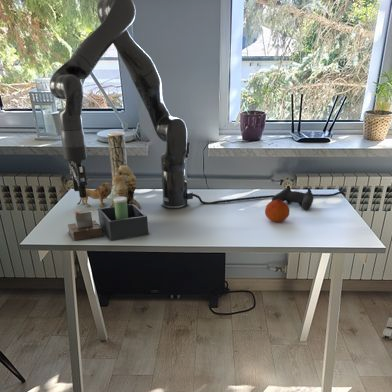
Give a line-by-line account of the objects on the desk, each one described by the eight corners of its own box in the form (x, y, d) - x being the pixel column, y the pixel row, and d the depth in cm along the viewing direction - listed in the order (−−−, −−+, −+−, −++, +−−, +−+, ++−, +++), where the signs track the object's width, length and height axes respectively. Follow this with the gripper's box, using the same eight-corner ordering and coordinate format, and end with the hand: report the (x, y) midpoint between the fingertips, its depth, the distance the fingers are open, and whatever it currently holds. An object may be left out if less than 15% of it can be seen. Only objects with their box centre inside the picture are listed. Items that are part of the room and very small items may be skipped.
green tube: (127, 225, 184) (124, 195, 178) (131, 229, 181) (128, 199, 174) (115, 227, 183) (112, 197, 176) (118, 231, 179) (115, 201, 173)
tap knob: (91, 223, 179) (89, 209, 176) (93, 225, 177) (91, 211, 174) (76, 226, 177) (73, 211, 174) (77, 228, 175) (75, 213, 173)
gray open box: (134, 220, 190) (133, 203, 187) (148, 234, 178) (147, 216, 175) (99, 226, 186) (97, 208, 182) (111, 240, 174) (109, 221, 170)
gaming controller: (309, 216, 200) (319, 197, 203) (308, 206, 195) (318, 187, 198) (271, 209, 207) (281, 191, 210) (269, 199, 203) (279, 181, 206)
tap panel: (95, 227, 184) (94, 219, 183) (102, 236, 177) (101, 227, 175) (68, 232, 181) (67, 223, 179) (74, 241, 174) (73, 232, 172)
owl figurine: (115, 202, 210) (110, 159, 200) (142, 202, 209) (139, 159, 200) (105, 216, 195) (100, 171, 185) (135, 216, 194) (131, 171, 185)
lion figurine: (113, 202, 209) (111, 180, 204) (112, 206, 205) (110, 184, 200) (78, 204, 208) (74, 182, 203) (76, 208, 204) (73, 185, 199)
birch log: (126, 196, 216) (121, 134, 203) (111, 195, 218) (105, 134, 204) (131, 191, 222) (126, 131, 208) (116, 191, 223) (110, 130, 209)
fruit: (293, 221, 188) (295, 200, 183) (274, 226, 184) (276, 204, 179) (278, 215, 194) (280, 194, 190) (260, 219, 190) (261, 198, 186)
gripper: (90, 147, 158) (96, 198, 167) (80, 138, 169) (86, 187, 178) (66, 149, 155) (73, 201, 164) (57, 140, 166) (65, 190, 175)
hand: (80, 194), depth 171 cm, fingers open, 8 cm apart
